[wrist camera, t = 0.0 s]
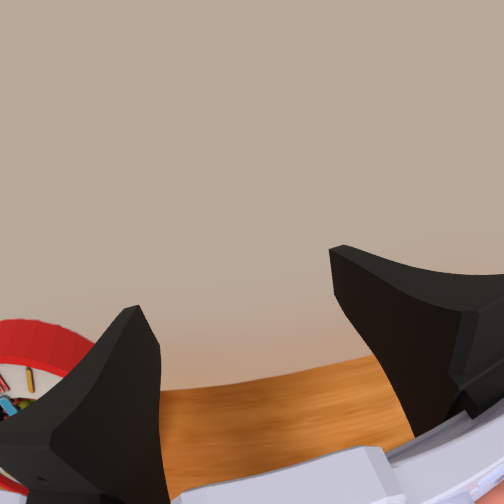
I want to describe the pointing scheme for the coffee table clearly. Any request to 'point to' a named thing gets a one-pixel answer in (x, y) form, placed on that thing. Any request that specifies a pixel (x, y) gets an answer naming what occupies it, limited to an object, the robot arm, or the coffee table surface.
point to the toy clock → (33, 367)
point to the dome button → (493, 495)
